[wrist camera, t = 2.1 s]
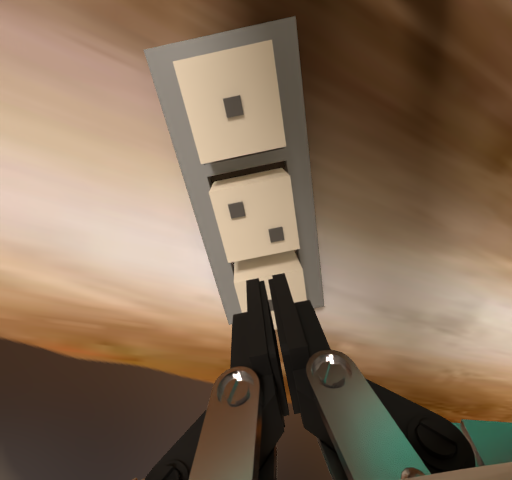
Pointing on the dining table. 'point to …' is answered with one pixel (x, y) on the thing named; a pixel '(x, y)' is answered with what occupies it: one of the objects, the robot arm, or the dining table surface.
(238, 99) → the tile one
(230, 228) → the tile two
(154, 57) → the board
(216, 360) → the dining table surface
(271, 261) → the tile three
